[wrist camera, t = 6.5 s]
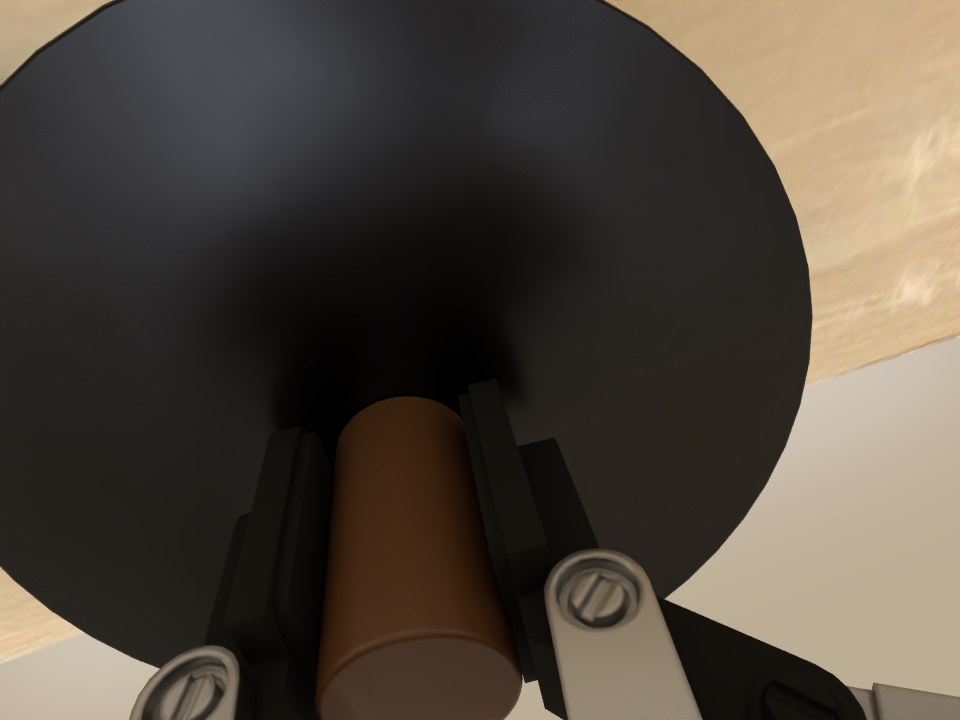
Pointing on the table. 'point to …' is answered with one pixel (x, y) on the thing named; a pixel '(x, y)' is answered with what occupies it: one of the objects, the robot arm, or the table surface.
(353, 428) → the lid
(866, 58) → the table surface
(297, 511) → the robot arm
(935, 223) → the table surface
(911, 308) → the table surface
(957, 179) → the table surface
